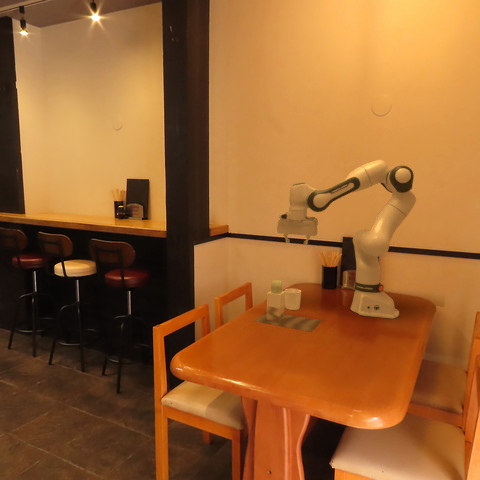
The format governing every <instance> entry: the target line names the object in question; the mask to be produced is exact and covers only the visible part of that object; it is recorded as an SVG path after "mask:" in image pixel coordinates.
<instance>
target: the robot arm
mask: <svg viewBox="0 0 480 480" xmlns="http://www.w3.org/2000/svg"><path fill="white" fill-rule="evenodd" d="M414 178H415V177H414V171H413V170H412V169H411V168H410V167H409V166H407V165H398V166H395V167H394V168H391V167H389V164H388V163H387V162H386V161H385V160H384V159H376V160H373V161H370V162H366V163H364V164H362V165H360V166H358V167H356V168H354V169H353V170H352V171H350V172H349V173H348V174H347V176H346V177H345V179H344V180H342V181H341V182H339V183H337V184H334V185H333V186H331V187H329V188H327V189H317V188H315V187H312V186H310V185H309V184H308V183H306V182H299V183H293V184H292V185H291V187H290V190H289V198H288V199H289V201H288V202H289V207H288V212H285V213H281V214H279V216H278V217H279V220H278V221H277V226H276V231H277V234H283V237H284V239H285V243H286V244H290V240H291V239H290V238H288V236H289V235H294V236H295V235H296V236H298V235H299V236H305V238H306V239H305V240H303V245H306V246H307V245H308V244H309V243H308V242H309V240H310V238H311V237H316V236H317V235H318V225H319V222H318V221H319V220H318V218H317V217H315V216H308V209H310V210H311V211H313V212H315V213H321V212H324V211H325V210H326V209H327V208H328V207H329V206H330V205H331V204H332V203H333V202H335V201H337V200H338V199H341V198H343V197H345V196H347V195H349V194H352V193H356V192H360V191H363V190H367V189H369V188H371V187H373V186H375V185H378V184H380V185H381V186H382V187H383V188H384V189H385V190H386V191H387V192H389V193H391V194H392V195H391V197H390V198H389V200H388V201H387V202H386V203H385V205H384V206H383V207H382V209H381V210H380V211H379V212H378V213H377V215H376V216H375V220H374V222H373V224H372V227H371V229H370V230H369V229H361V230H359V231H357V232H355V233H354V234H353V236H352V237H353V238H352V243H353V248H354V256H355V263H356V264H355V265H356V267H355V268H356V269H355V270H356V271H355V281H354V283H353V284H354V285H353V293H354V294H353V298H352V303H351V306H350V310H351V311H352V312H354V313H357V314H358V315H360V316H365V317H374V318H384V319H396V318H398V317H399V316H400V311H399V309H397V308H396V307H395V306H396V305H395V302H394V300H393V298H391V297H390V296H389V295H388V294H387V293H386V292H385V291H384V286H385V285H384V284H382V283H380V281H381V280H380V277H381V265H380V262H379V258H378V257H382V256H384V255H385V254H387V253H388V251H389V249H390V242H391V240H392V238H393V236H394V234H395V233H396V231H397V230H398V228H399V227H400V226H401V225H402V224H403V222H404V221H405V219H407V217H408V216H409V214H410V213H411V211H412V210H413V208H414V206H415V204H416V203H417V197H416V196H415V194H414V192H412V191H411V190H412V189H413V184H414V183H413V182H414Z"/></svg>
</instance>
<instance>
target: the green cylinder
mask: <svg viewBox="0 0 480 480" xmlns="http://www.w3.org/2000/svg"><path fill="white" fill-rule="evenodd" d="M270 291H271V293H274V294H280V293H282V291H283V281H282V280H280V279H272V280H270Z"/></svg>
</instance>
